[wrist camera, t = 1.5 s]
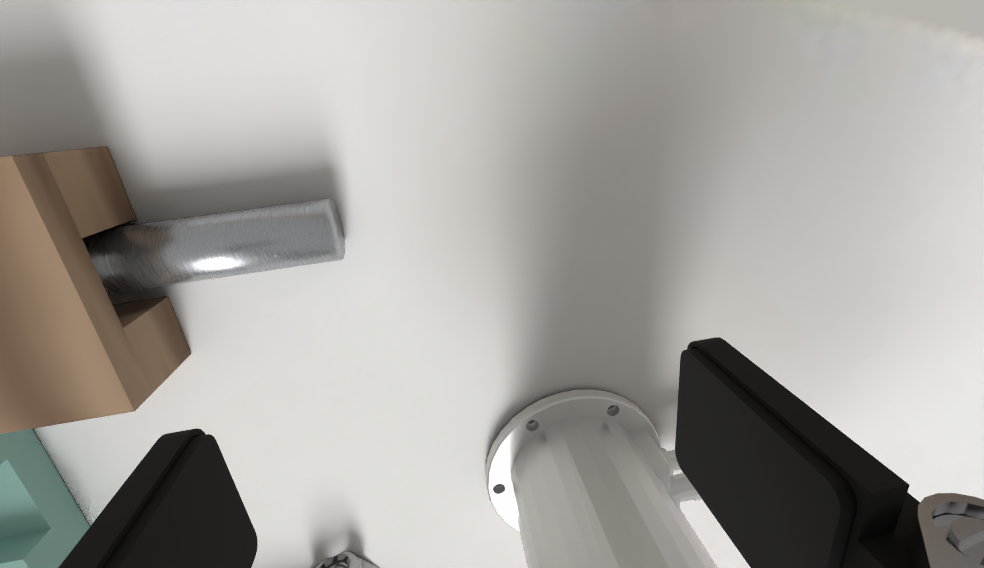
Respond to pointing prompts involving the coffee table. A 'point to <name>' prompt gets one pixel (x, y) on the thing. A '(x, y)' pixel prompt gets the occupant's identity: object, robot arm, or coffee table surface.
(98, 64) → the coffee table surface
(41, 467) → the v block
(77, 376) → the wooden bridge block
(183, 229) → the axle
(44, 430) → the coffee table surface
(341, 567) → the car model
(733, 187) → the coffee table surface
